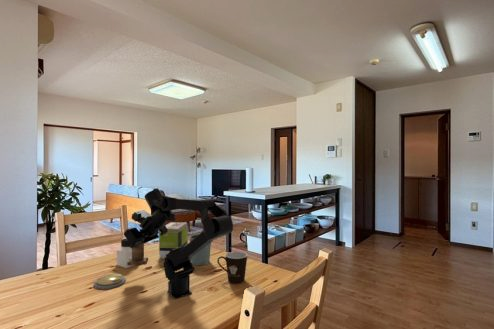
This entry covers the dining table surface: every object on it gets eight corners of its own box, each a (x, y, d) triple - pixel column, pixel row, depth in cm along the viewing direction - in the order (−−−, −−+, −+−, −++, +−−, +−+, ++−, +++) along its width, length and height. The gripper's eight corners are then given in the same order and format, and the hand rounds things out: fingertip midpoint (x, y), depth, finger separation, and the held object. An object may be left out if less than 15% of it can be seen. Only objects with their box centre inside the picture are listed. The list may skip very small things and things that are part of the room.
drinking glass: (185, 262, 128) (185, 236, 129) (199, 256, 137) (199, 232, 137) (201, 267, 123) (202, 240, 123) (215, 260, 132) (216, 235, 132)
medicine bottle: (140, 263, 127) (140, 237, 127) (125, 268, 121) (126, 241, 121) (130, 260, 131) (130, 235, 131) (116, 265, 125) (116, 238, 125)
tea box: (170, 249, 150) (170, 221, 150) (188, 249, 149) (188, 222, 149) (158, 258, 135) (158, 227, 135) (178, 259, 134) (178, 228, 134)
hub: (118, 274, 112) (118, 271, 112) (126, 281, 105) (126, 278, 105) (94, 280, 106) (94, 277, 106) (100, 288, 99) (100, 285, 99)
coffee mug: (251, 280, 109) (251, 254, 109) (236, 287, 103) (236, 260, 103) (231, 272, 117) (231, 248, 117) (215, 278, 111) (215, 253, 111)
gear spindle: (144, 258, 113) (144, 229, 113) (151, 263, 108) (151, 232, 108) (124, 263, 108) (124, 232, 108) (130, 268, 103) (131, 235, 103)
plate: (120, 275, 114) (120, 273, 114) (129, 283, 105) (129, 281, 105) (90, 282, 106) (90, 280, 106) (97, 292, 98) (97, 289, 98)
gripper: (161, 201, 116) (140, 225, 119) (127, 206, 98) (104, 235, 102) (177, 221, 113) (155, 245, 116) (145, 231, 95) (120, 259, 99)
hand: (135, 245), depth 109 cm, fingers closed on gear spindle, 4 cm apart
